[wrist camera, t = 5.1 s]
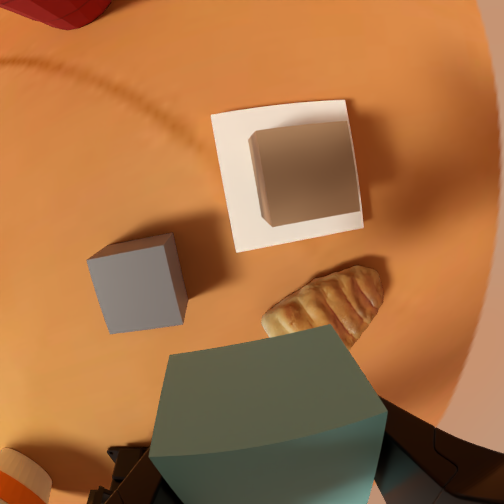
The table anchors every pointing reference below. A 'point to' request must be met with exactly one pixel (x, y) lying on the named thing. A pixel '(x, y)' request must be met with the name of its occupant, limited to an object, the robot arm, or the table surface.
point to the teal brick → (269, 423)
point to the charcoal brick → (139, 284)
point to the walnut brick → (304, 172)
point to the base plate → (243, 181)
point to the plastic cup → (58, 11)
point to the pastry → (330, 305)
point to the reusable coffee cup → (22, 479)
